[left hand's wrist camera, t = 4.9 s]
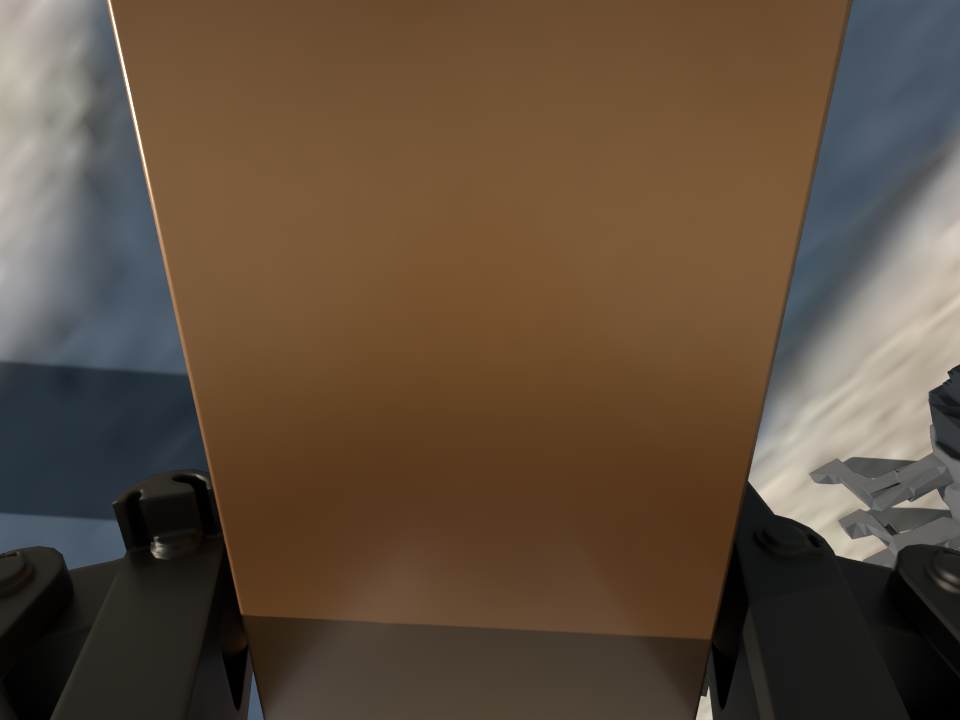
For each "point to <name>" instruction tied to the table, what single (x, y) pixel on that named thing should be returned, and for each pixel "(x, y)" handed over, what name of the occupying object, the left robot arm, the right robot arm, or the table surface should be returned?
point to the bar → (479, 327)
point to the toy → (910, 483)
